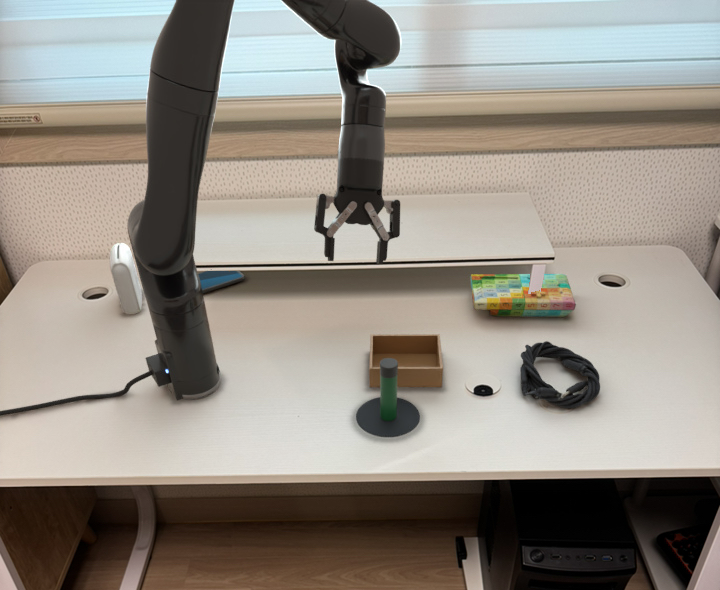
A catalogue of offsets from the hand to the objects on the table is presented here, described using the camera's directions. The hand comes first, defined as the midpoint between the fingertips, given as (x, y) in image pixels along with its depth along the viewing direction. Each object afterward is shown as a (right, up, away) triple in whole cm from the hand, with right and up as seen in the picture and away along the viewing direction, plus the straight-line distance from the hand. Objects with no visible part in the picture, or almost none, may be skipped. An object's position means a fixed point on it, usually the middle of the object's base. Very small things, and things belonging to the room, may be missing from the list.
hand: (355, 262), depth 118 cm
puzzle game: (+34, -1, +27) cm, 43 cm away
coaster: (+6, -27, +1) cm, 27 cm away
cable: (+37, -19, +8) cm, 42 cm away
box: (+9, -17, +11) cm, 22 cm away
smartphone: (-33, +7, +36) cm, 49 cm away
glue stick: (+6, -26, +1) cm, 27 cm away
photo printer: (-48, +1, +31) cm, 57 cm away
